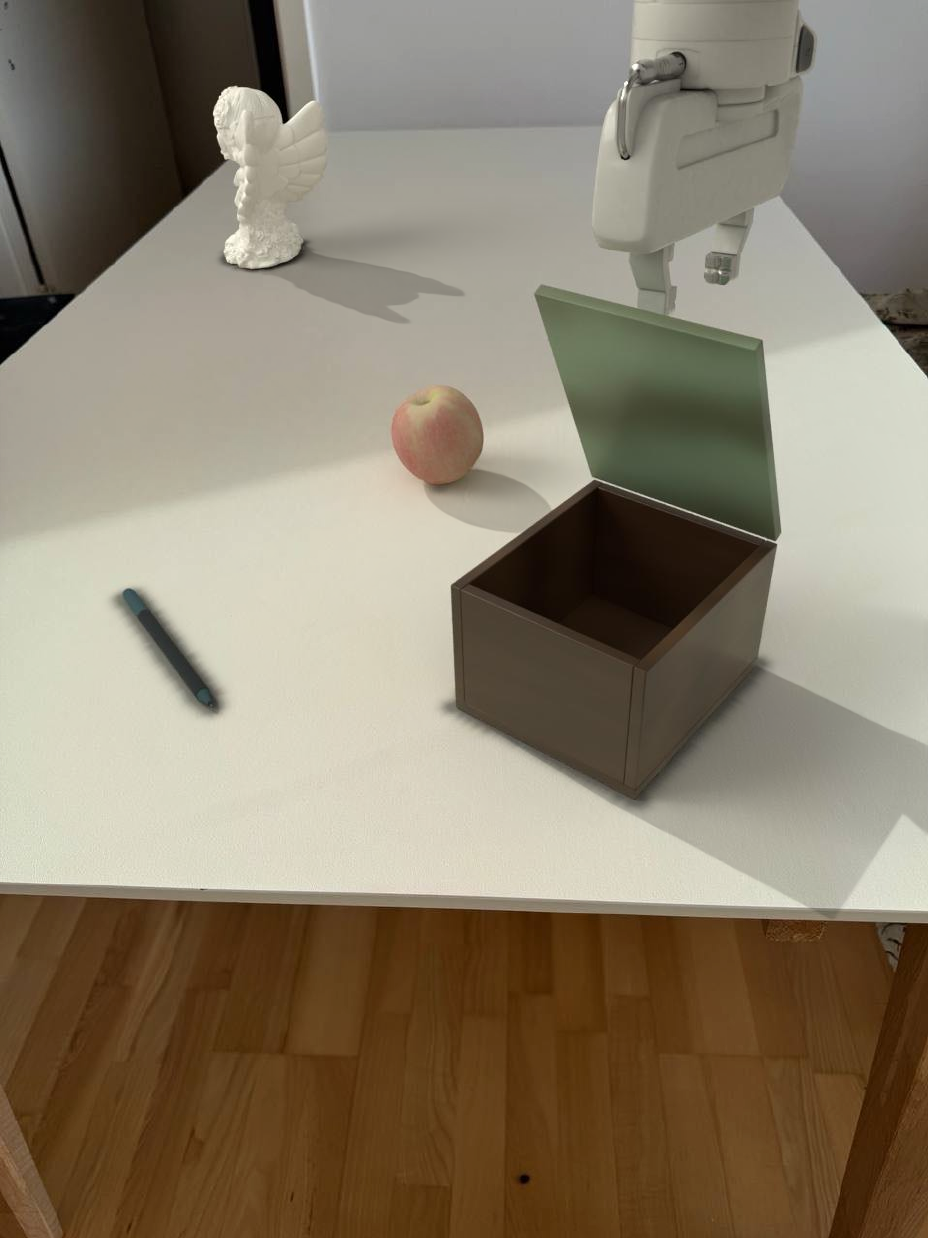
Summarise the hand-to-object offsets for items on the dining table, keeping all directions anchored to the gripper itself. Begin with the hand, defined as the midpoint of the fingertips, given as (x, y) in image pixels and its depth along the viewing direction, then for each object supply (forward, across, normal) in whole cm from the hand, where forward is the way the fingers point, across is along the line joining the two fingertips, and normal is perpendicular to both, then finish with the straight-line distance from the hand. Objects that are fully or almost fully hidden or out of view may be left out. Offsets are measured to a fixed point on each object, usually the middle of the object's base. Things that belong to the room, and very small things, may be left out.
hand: (689, 298), depth 68 cm
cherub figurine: (+14, +43, +77) cm, 89 cm away
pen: (+23, -23, +27) cm, 43 cm away
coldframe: (+23, -10, -1) cm, 25 cm away
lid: (+5, -7, -2) cm, 9 cm away
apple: (+20, +7, +25) cm, 33 cm away
